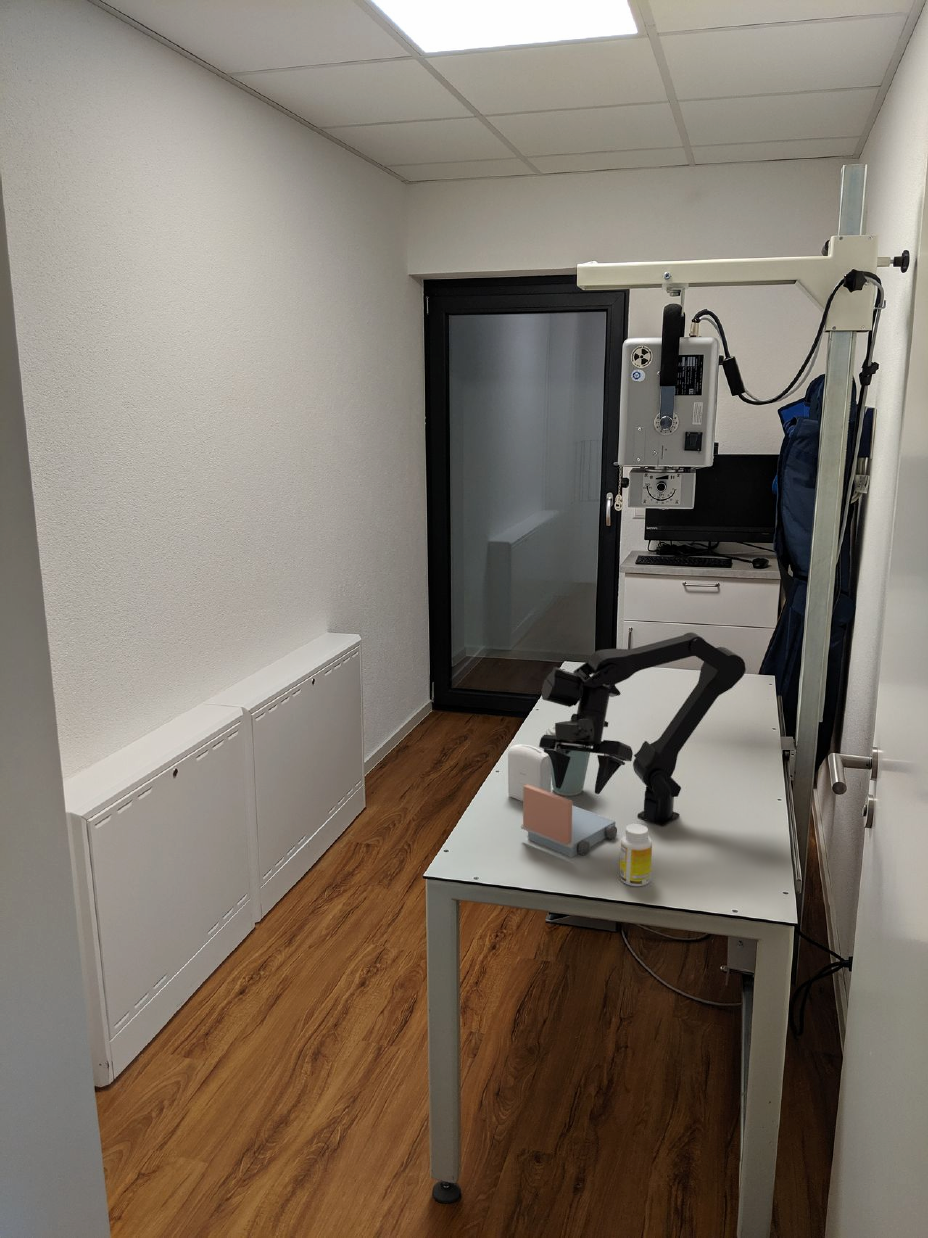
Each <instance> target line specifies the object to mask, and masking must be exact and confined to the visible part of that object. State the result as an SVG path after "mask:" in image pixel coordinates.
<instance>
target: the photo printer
mask: <svg viewBox="0 0 928 1238" xmlns="http://www.w3.org/2000/svg"><path fill="white" fill-rule="evenodd" d="M507 763H508V764H507V777H508V778H507V781H508V782H507V785H508V786H507V787H508V789H507V790H508V791H507V792H508V793H507V794H508V796H509V797H511V798H513V799H515V800H518V801H521V802H523V789H524V786H525V785H527V784H528V785H531V786H533V787H536V788H539V789H541V790H544V791H547V792H550V793H552V779H551V759H550V757H549V755H548V754H547V753H545V752H544V750H542V749H539V747H538V748H537V747H535V746H533V745H530V744H522V743H521V744H514V745H512V746H510V748H509V750H508V754H507Z"/></svg>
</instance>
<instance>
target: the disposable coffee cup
mask: <svg viewBox="0 0 928 1238" xmlns="http://www.w3.org/2000/svg"><path fill="white" fill-rule="evenodd" d="M545 735H555V724H552V725H551V726H550V727H548V729H546V731H545ZM580 748H582V747H580ZM588 748H592V746H589V747H588ZM567 756H569V757H571V758H570V761H569V765H568V768H567V771H566V774H565V778H564V781H563V784H562V786H561V788H560V789H558V788H556V785H555V778H554V771H553V766H552V762H551V787H552V788H553V791H554V792H555V793H556V794H558V795H560V796H568V797H569V796H571V797H572V796H577V795H580V794H581V793H582V791H583V789H584V785H585V780H586V777H587V776H586V775H587V772H588V766H589V760H590V756H591V753H588V752H579V751H571V752H570V753H568V754H567Z"/></svg>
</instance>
